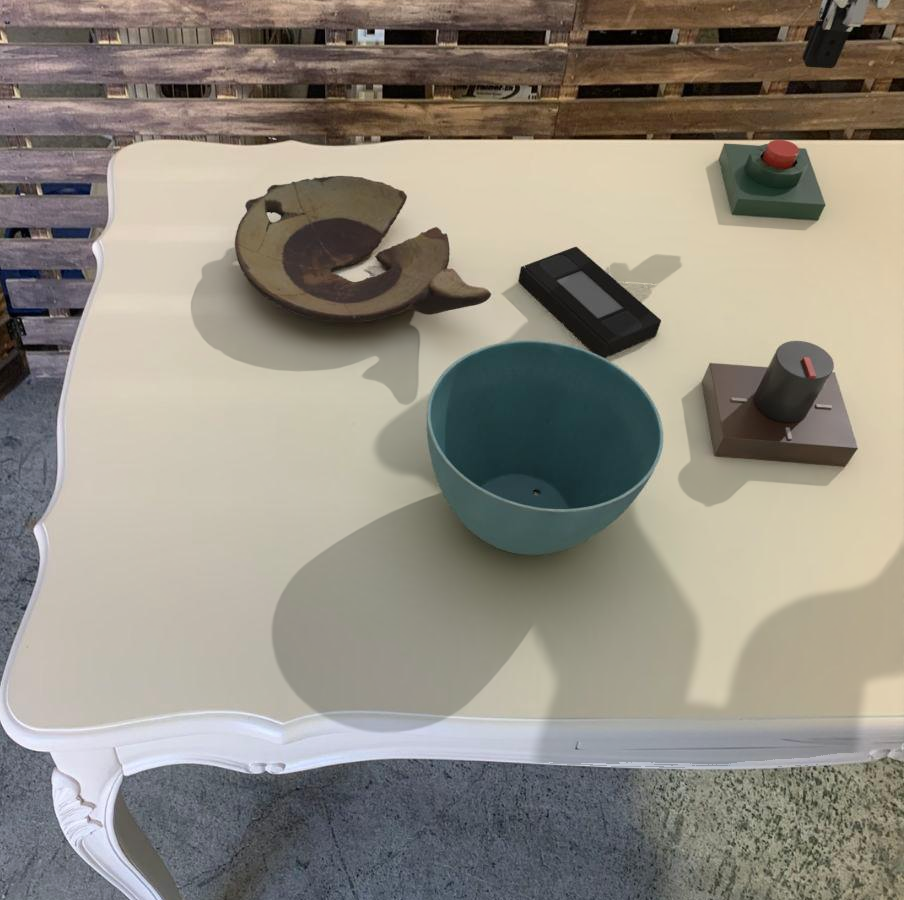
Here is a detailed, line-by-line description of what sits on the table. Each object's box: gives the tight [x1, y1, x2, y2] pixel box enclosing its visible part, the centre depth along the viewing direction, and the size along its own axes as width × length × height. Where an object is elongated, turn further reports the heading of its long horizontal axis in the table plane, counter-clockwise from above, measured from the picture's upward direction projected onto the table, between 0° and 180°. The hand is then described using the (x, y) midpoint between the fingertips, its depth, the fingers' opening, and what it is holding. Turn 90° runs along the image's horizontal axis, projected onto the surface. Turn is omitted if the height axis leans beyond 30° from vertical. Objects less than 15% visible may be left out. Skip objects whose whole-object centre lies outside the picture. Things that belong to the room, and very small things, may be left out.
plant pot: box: [426, 339, 664, 556], centre depth 74 cm, size 18×18×12 cm
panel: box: [701, 362, 859, 467], centre depth 85 cm, size 12×10×3 cm
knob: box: [754, 340, 835, 422], centre depth 82 cm, size 5×5×6 cm
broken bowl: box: [234, 175, 492, 323], centre depth 94 cm, size 22×30×8 cm
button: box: [762, 139, 800, 169], centre depth 106 cm, size 4×4×2 cm
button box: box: [718, 142, 826, 222], centre depth 108 cm, size 10×12×4 cm
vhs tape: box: [518, 246, 662, 359], centre depth 95 cm, size 8×14×2 cm, turn 30°
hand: (817, 63), depth 97 cm, fingers closed
